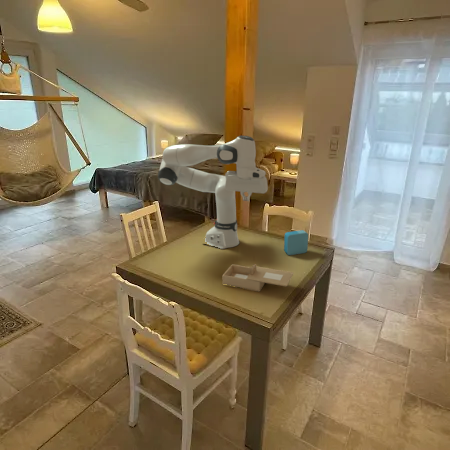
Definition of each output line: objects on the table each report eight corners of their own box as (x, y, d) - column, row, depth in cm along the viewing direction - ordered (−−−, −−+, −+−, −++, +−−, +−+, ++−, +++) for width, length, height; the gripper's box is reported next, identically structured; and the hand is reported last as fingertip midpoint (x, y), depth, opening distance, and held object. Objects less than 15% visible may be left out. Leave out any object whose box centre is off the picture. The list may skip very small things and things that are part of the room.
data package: (303, 249, 197) (304, 229, 193) (307, 252, 193) (308, 232, 189) (283, 252, 194) (284, 232, 190) (287, 255, 190) (287, 235, 186)
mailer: (222, 284, 164) (222, 275, 162) (232, 273, 174) (232, 264, 172) (259, 291, 157) (259, 282, 155) (267, 279, 167) (267, 269, 165)
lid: (246, 279, 157) (246, 272, 156) (255, 267, 168) (255, 260, 166) (286, 286, 150) (286, 279, 149) (293, 273, 161) (293, 266, 159)
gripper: (222, 171, 164) (223, 200, 168) (264, 174, 156) (264, 204, 161) (227, 169, 169) (228, 196, 174) (268, 171, 161) (268, 200, 166)
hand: (246, 200), depth 167 cm, fingers closed
